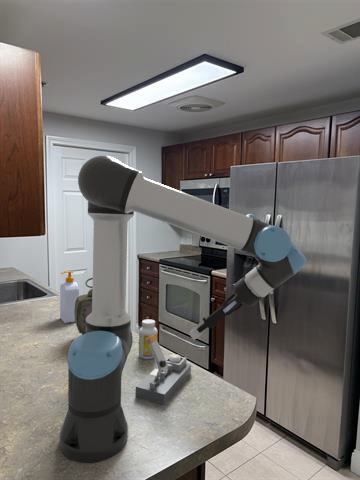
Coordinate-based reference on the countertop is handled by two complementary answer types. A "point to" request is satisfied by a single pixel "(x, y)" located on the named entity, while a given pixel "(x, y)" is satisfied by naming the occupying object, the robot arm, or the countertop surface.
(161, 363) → the toggle switch
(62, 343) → the countertop surface
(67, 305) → the soap bottle
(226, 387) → the countertop surface
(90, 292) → the tabletop clock
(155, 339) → the paddle lever
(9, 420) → the countertop surface
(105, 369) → the robot arm
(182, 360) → the switch panel
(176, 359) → the push button
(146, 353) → the supplement bottle
